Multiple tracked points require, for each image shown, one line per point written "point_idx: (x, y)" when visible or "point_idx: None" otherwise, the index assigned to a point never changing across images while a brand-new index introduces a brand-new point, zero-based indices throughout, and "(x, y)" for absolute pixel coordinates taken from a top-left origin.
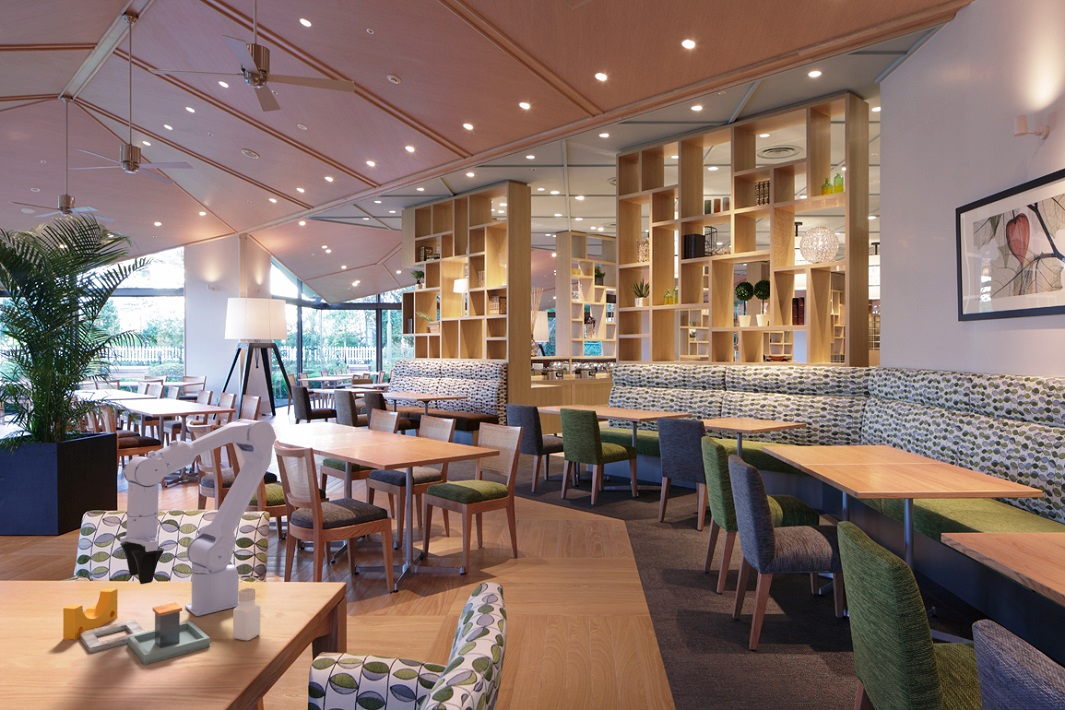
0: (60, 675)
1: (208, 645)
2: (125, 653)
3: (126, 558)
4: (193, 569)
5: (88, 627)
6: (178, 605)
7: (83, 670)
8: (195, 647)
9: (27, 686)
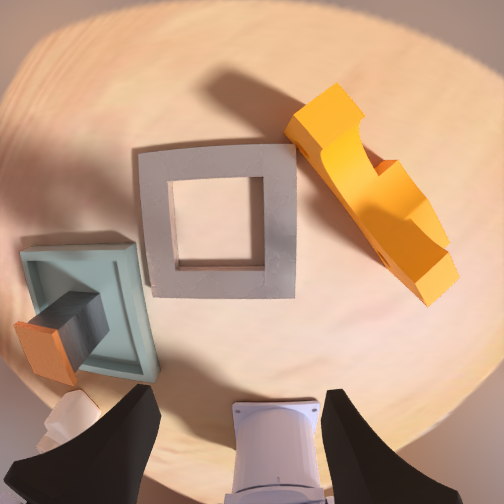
0: (68, 96)
1: None
2: (94, 227)
3: (383, 447)
4: (281, 491)
5: (323, 176)
6: (50, 378)
7: (61, 138)
8: None
9: (65, 49)
